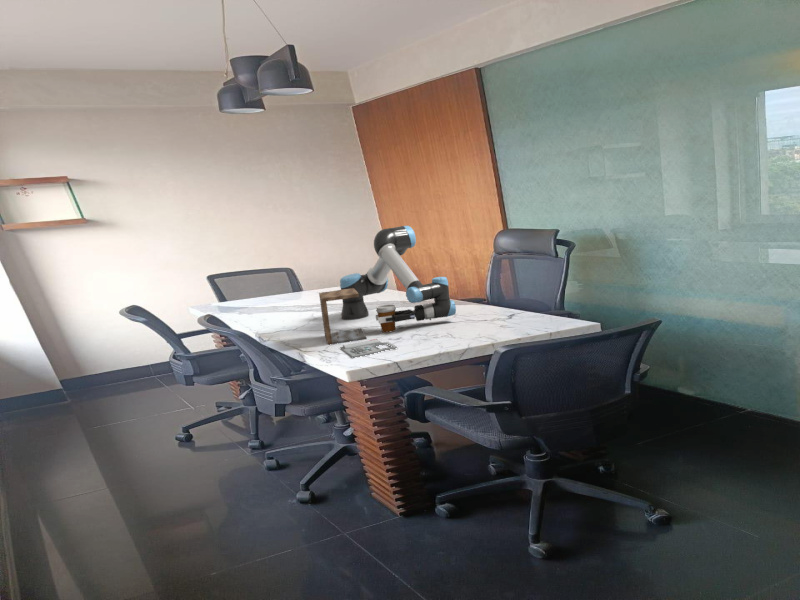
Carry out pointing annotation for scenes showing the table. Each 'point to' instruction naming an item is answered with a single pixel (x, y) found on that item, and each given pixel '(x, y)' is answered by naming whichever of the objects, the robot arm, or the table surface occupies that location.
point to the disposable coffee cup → (383, 312)
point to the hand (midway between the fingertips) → (377, 319)
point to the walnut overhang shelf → (330, 337)
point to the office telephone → (365, 348)
